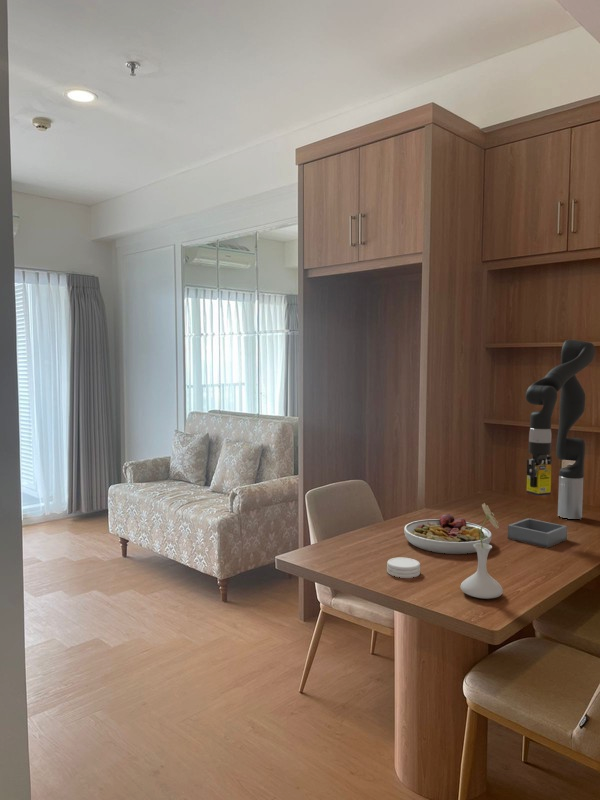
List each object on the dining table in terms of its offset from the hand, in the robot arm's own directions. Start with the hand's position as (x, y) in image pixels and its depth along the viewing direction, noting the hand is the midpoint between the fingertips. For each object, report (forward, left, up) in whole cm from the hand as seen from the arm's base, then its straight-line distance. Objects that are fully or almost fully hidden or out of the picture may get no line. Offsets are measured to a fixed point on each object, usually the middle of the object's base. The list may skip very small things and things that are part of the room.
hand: (538, 485), depth 222 cm
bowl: (+29, -19, -20) cm, 40 cm away
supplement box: (0, 0, -3) cm, 3 cm away
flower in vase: (+62, +15, -20) cm, 67 cm away
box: (0, 0, -20) cm, 20 cm away
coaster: (+65, -10, -20) cm, 69 cm away
